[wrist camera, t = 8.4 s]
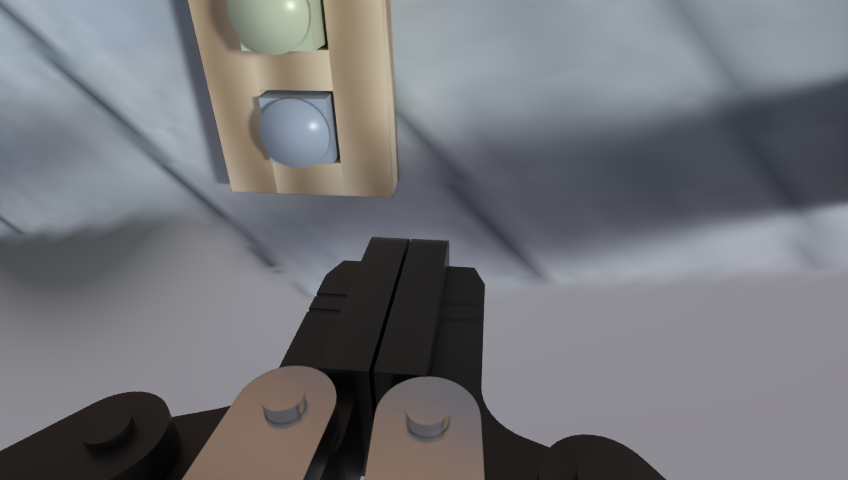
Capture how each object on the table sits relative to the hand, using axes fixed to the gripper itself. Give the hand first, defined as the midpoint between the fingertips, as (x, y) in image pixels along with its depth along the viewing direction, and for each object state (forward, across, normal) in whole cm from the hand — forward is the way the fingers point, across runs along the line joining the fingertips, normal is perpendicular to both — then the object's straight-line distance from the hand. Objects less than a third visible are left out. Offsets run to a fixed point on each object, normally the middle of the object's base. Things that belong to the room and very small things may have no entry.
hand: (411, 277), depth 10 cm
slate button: (+25, +11, +5) cm, 28 cm away
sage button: (+24, +11, -3) cm, 27 cm away
